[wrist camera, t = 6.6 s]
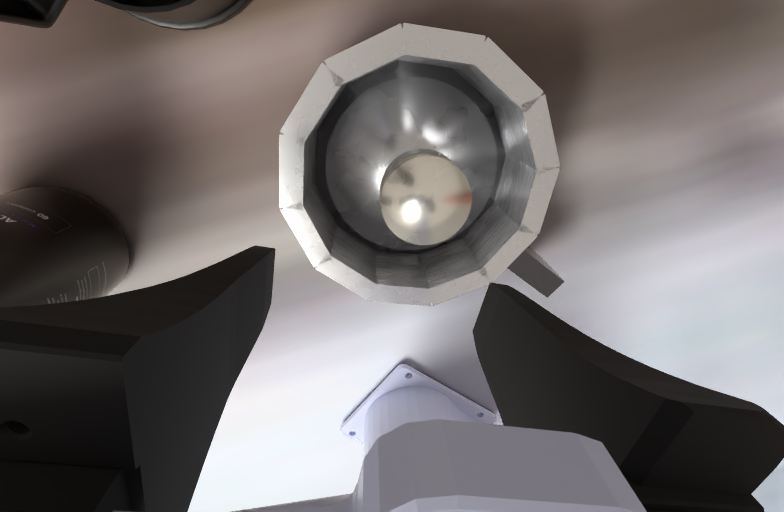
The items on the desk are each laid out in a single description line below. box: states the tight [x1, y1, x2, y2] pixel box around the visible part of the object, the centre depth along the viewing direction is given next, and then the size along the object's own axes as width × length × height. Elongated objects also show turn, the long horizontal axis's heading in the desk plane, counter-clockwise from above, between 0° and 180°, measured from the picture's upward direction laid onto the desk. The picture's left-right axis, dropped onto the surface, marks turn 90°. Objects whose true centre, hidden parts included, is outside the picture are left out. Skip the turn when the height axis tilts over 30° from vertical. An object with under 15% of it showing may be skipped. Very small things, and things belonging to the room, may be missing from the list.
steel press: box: [279, 23, 564, 306], centre depth 19 cm, size 15×12×5 cm
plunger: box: [326, 77, 497, 250], centre depth 17 cm, size 9×9×6 cm
